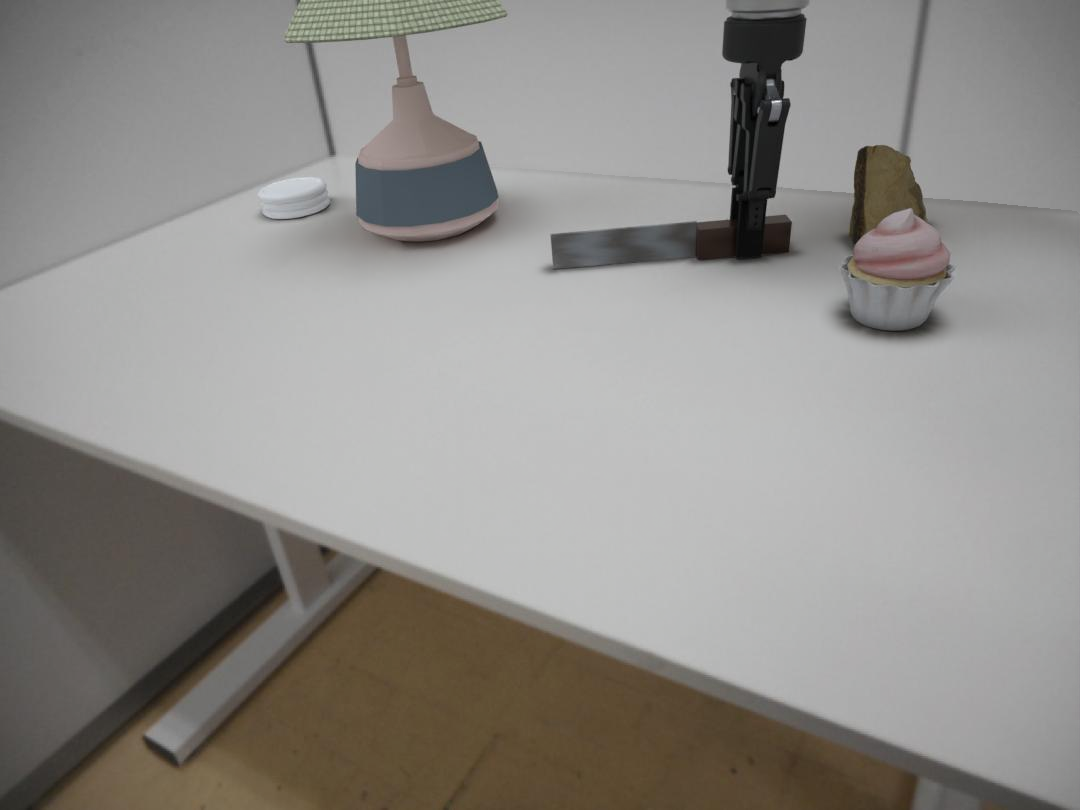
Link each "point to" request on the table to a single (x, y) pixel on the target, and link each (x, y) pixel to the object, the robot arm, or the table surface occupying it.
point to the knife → (662, 242)
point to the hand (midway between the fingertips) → (744, 250)
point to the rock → (882, 189)
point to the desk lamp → (410, 123)
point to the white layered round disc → (293, 198)
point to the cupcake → (897, 273)
